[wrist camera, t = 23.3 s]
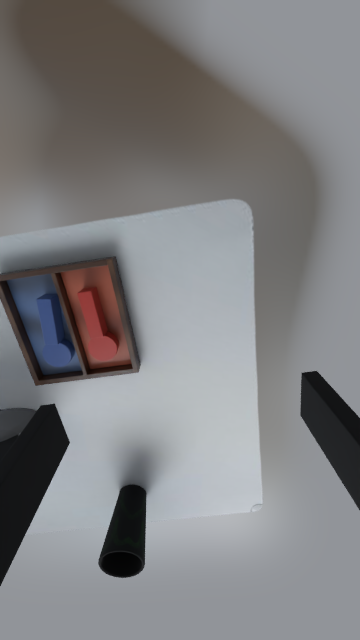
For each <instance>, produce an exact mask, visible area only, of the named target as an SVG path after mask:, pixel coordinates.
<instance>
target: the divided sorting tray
mask: <svg viewBox="0 0 360 640" xmlns="http://www.w3.org/2000/svg"><path fill="white" fill-rule="evenodd" d="M90 287H97V291H98V295H99V298H100V302H101V306H102V310H103V314H104V317H105V321H106V325H107V329H108V331H107V332H110V333H112V334H114V335H115V336H116V337H117V339H118V341H119V349H118V351H117V353H116V355H115V356H114V357H113V358H112V359H110V360H108V361H100V360H97V359H95V358H94V357H93V356H92V355H91V354H90V352H89V350H88V343H89V341H90V340H91V339H90V336H89V332H88V329H87V325H86V322H85V319H84V315H83V312H82V308H81V305H80V302H79V298H78V295H77V293H78V292H79V291H81V290H82V289H83V288H90ZM44 294H58V298H59V302H60V308H61V315H62V321H63V327H64V334H65V338H64V339H66V340H68V341H69V342H71V343H72V345H73V346H74V349H75V354H74V357H73V358H72V360H71V361H70V362H69V363H68V364H67V365H66V366H63V367H55V366H52V365H50V364H49V363H47V362H46V361H45V359H44V357H43V354H42V351H43V348H44V346H45V343H44V338H43V332H42V327H41V322H40V317H39V311H38V306H37V301H36V299H37V298H39V297H41V296H43V295H44ZM0 299H1V302H2V304H3V307H4V309H5V312H6V314H7V317H8V319H9V321H10V324H11V326H12V329H13V331H14V334H15V336H16V339H17V341H18V343H19V346H20V348H21V351H22V353H23V356H24V358H25V361H26V363H27V366H28V368H29V370H30V373H31V375H32V378H33V380H34V383H35V385H44V384H52V383H60V382H67V381H75V380H83V379H91V378H98V377H106V376H114V375H122V374H129V373H137V372H139V369H140V361H139V357H138V352H137V348H136V344H135V339H134V335H133V331H132V326H131V322H130V317H129V313H128V309H127V304H126V300H125V296H124V291H123V287H122V282H121V278H120V274H119V269H118V265H117V261H116V257H108V258H101V259H95V260H88V261H81V262H75V263H68V264H61V265H55V266H48V267H41V268H35V269H28V270H21V271H15V272H8V273H1V274H0Z"/></svg>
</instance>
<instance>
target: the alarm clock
mask: <svg viewBox="0 0 360 640" xmlns="http://www.w3.org/2000/svg"><path fill="white" fill-rule="evenodd" d="M35 413H36V411H35V410H32V409H24V408H22V409H6V410H0V461H1V459H2V458H3V456H4V455H5V454H6V452H7V451H8V450H9V448H10V447H11V446H12V444H13V443H14V442H15V440H16V439H17V437H18V436H19V435H20V433H21V432H22V431H23V429H24V428H25V427H26V425H27V424H28V423H29V421H30V420H31V418H32V417H33V416H34V414H35Z"/></svg>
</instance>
